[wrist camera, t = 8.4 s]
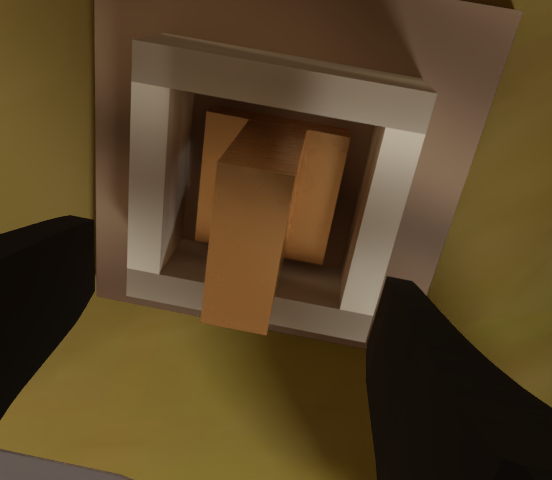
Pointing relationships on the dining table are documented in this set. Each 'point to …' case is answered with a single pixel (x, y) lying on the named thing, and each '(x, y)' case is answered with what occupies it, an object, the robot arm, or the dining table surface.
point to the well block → (301, 106)
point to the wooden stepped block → (262, 207)
